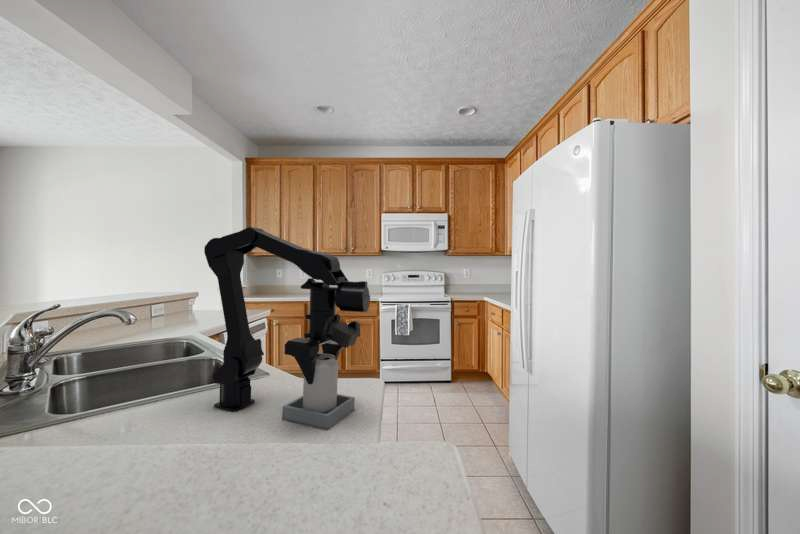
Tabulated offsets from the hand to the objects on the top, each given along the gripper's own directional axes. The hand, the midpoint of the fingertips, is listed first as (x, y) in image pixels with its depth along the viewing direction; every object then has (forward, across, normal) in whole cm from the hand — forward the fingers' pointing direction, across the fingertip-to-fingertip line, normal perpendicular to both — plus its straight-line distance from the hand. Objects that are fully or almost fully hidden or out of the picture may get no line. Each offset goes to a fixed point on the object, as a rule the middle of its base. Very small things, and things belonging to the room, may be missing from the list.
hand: (320, 379), depth 83 cm
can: (+7, 0, 0) cm, 7 cm away
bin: (+8, 0, 0) cm, 8 cm away
